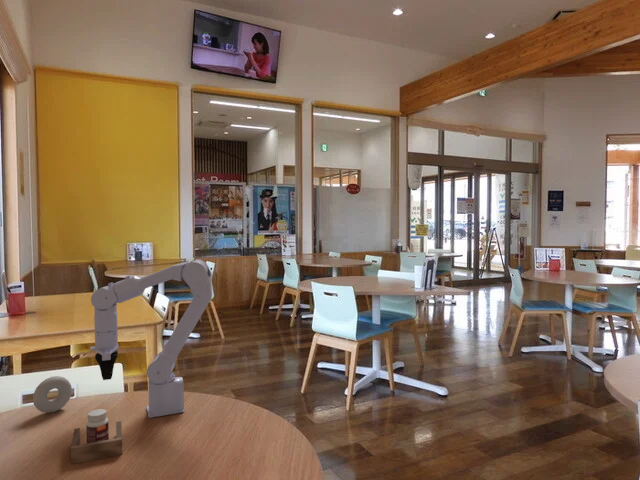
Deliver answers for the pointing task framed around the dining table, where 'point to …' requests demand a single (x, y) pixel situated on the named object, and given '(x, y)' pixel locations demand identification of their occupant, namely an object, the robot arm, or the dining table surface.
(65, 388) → the donut
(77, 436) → the brown u-shaped block
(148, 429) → the dining table surface
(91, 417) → the pill bottle
